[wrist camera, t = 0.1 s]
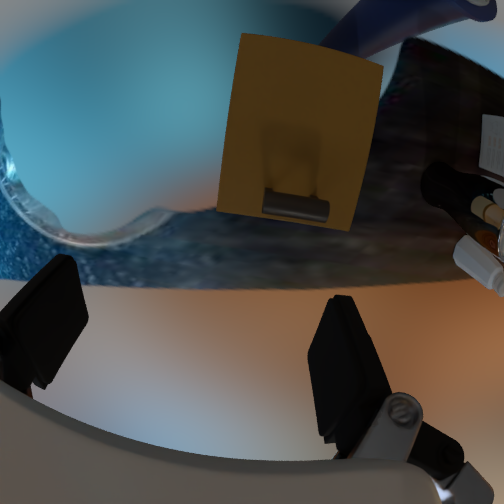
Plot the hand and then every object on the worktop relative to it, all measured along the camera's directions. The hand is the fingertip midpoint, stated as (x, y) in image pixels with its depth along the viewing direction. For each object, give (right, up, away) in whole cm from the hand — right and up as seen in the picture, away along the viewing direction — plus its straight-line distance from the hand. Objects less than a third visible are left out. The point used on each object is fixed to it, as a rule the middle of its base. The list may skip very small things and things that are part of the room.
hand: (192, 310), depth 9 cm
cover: (+6, +12, +12) cm, 19 cm away
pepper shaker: (+35, +3, +23) cm, 42 cm away
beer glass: (+26, +11, +19) cm, 34 cm away
